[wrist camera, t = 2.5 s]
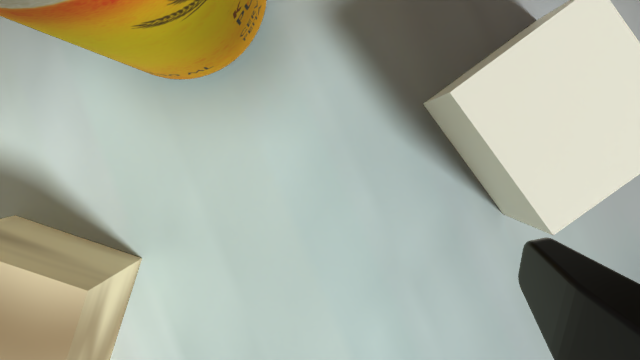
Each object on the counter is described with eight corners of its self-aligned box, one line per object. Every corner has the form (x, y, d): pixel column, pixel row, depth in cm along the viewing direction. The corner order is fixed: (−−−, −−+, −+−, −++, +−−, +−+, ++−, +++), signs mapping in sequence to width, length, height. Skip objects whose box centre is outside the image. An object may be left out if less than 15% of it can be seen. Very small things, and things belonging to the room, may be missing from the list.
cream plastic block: (502, 214, 22) (553, 235, 17) (422, 104, 22) (449, 92, 17) (616, 132, 22) (701, 129, 17) (535, 20, 21) (597, -17, 16)
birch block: (103, 381, 23) (38, 449, 18) (-22, 339, 23) (-123, 394, 18) (142, 257, 22) (87, 290, 17) (16, 215, 22) (-76, 235, 17)
